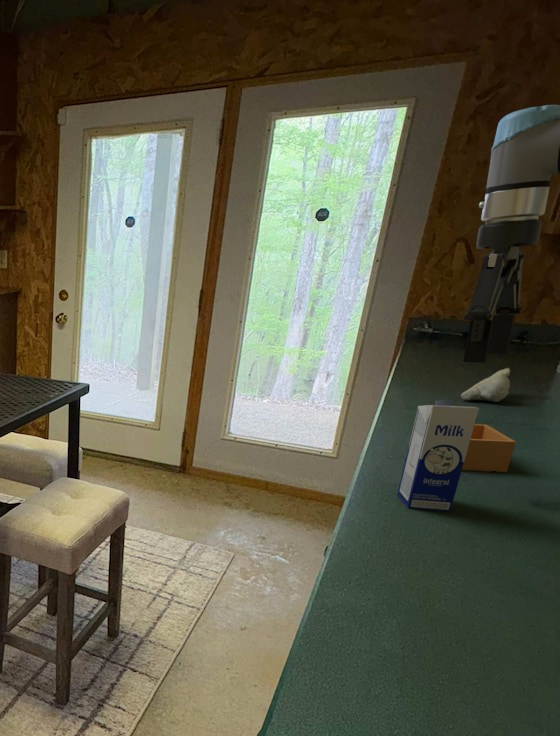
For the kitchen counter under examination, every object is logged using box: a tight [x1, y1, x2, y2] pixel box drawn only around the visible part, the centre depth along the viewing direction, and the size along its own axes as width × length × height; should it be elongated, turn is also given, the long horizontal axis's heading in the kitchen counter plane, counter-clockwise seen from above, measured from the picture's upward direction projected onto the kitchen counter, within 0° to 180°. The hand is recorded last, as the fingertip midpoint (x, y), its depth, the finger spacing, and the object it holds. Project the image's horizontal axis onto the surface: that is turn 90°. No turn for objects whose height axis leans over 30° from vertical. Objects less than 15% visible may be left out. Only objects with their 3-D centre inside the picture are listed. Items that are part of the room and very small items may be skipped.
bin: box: [462, 423, 517, 473], centre depth 138 cm, size 13×13×7 cm
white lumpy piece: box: [460, 367, 511, 403], centre depth 182 cm, size 15×7×15 cm
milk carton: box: [396, 399, 480, 512], centre depth 115 cm, size 7×7×20 cm
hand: (485, 358), depth 104 cm, fingers open, 13 cm apart
